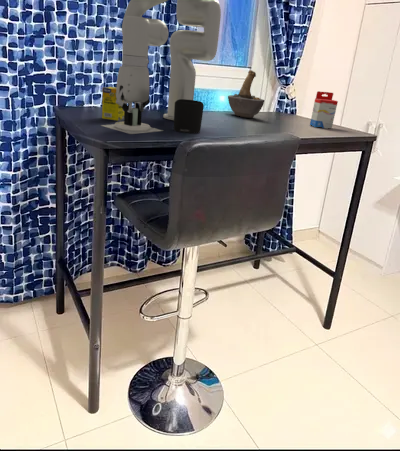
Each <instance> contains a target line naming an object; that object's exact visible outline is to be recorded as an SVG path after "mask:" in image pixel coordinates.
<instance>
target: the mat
mask: <svg viewBox="0 0 400 451" xmlns="http://www.w3.org/2000/svg"><path fill="white" fill-rule="evenodd" d="M100 126H101V127H105V128H108V129H111V130H115V131H119V132H122V133H126V134H128V135H135V134H136V135H137V134H147V133H156V132H164V130H163V129H159V128H156V127H151V126H150V130H148V131H126V130H121V129H117V128H115V123H114V124H113V123H112V124H101V125H100Z"/></svg>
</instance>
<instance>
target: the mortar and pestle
mask: <svg viewBox="0 0 400 451" xmlns="http://www.w3.org/2000/svg"><path fill="white" fill-rule="evenodd" d="M247 73H248V74H247V76H246V77H245V79H244V80H243V83H242V86H241V88H240V90H239V92H238V93H234V95H228V96H227V101H228V104H229V106H230V109H231V111H232V112H233V114H234V115H235V116H236V117H239V116H240V117H241V118H245V119H253V118H254V117H255V116H257V115H259V113H260V112H261V110H262V108H263V107H264V103H265V99H262V98H260V97H256V95H254V94H253V95H252V92H251V87H252V85H253V82H254V79H255V78H256V77H257V74H256V71H254V70H252V69H250V70H249V71H248V72H247Z"/></svg>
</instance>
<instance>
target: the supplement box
mask: <svg viewBox="0 0 400 451" xmlns="http://www.w3.org/2000/svg"><path fill="white" fill-rule="evenodd" d="M116 88H117V86H116V87H115V86H107V87H106V86H104V87H102V93H101V96H102V97H101V99H102V102H101V104H102V106H101V119H102V120H105V121H113V122H121V121H124V111H123V109H122V108H121V106H120V105H118V104H117V103H116V100H117V98H116Z"/></svg>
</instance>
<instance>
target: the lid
mask: <svg viewBox="0 0 400 451" xmlns="http://www.w3.org/2000/svg"><path fill="white" fill-rule="evenodd" d="M131 113H133V124H132V126H129V125H125V124H124V121H115V123H114V124H115V128H117V129H121V130H126V131H148V130H150V127H151V125H149V124H148V123H143V122H141V125H137V122H138V109H137V108H135V107H132V111H131Z"/></svg>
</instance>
